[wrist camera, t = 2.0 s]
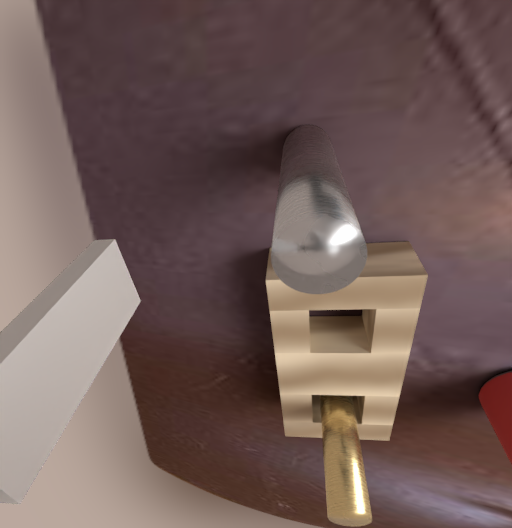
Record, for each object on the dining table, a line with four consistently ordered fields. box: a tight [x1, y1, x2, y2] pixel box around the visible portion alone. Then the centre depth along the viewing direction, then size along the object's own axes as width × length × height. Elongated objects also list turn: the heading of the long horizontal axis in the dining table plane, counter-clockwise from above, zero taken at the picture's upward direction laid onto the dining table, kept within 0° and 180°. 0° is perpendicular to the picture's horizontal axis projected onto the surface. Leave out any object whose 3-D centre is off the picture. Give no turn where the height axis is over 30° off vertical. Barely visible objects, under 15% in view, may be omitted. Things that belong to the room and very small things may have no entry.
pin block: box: [266, 241, 428, 441], centre depth 27 cm, size 20×10×4 cm, turn 7°
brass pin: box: [320, 395, 372, 526], centre depth 27 cm, size 3×3×12 cm
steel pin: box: [271, 125, 367, 294], centre depth 15 cm, size 3×3×12 cm
